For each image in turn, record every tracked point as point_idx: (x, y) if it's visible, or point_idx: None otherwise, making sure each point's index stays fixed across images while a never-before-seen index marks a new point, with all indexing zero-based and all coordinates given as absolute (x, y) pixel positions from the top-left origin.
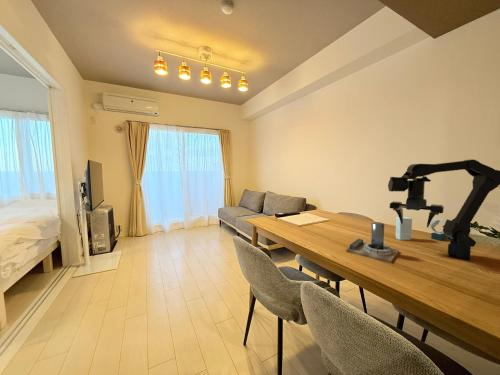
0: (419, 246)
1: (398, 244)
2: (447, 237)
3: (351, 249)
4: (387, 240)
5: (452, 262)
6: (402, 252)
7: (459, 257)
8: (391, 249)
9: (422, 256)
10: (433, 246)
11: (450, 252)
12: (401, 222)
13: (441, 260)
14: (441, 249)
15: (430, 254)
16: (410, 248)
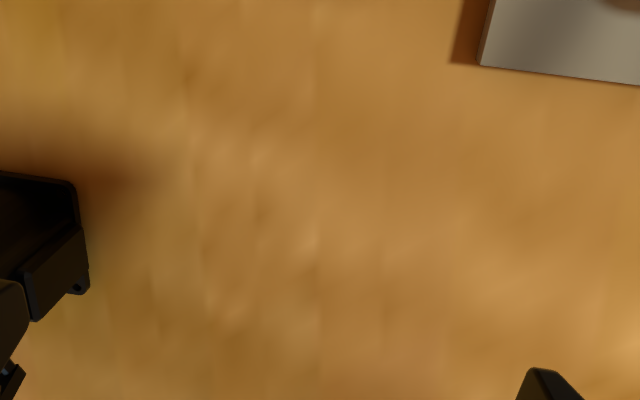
0: (291, 328)
1: (460, 301)
2: (16, 385)
3: None
4: (554, 368)
5: (29, 39)
6: (437, 64)
7: (3, 177)
8: (570, 22)
9: (254, 53)
10: (201, 373)
11: (54, 225)
12: (568, 395)
13: (104, 37)
14: (147, 331)
15: (199, 161)
16: (359, 240)
